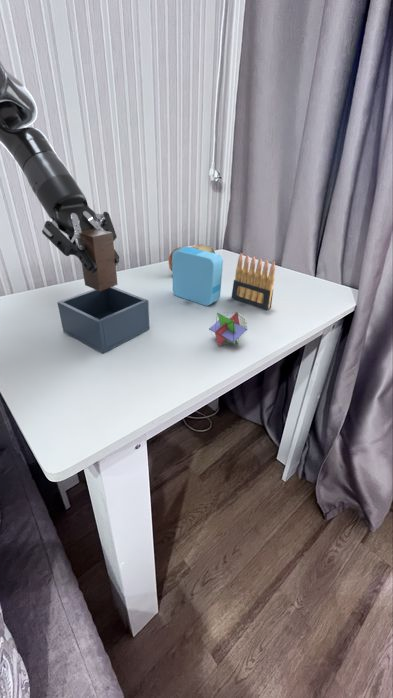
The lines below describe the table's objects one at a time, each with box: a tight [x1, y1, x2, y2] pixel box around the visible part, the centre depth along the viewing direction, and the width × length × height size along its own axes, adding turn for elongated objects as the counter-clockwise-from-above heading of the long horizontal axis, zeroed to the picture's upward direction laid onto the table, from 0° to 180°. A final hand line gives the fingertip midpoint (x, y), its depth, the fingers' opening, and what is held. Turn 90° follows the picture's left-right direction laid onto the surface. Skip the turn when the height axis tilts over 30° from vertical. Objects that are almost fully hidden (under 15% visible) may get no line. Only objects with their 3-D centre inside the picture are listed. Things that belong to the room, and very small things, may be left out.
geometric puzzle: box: [208, 310, 249, 348], centre depth 66 cm, size 7×7×8 cm
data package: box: [172, 246, 224, 307], centre depth 83 cm, size 12×4×12 cm, turn 55°
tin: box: [168, 244, 216, 273], centre depth 99 cm, size 15×3×8 cm, turn 119°
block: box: [79, 229, 119, 291], centre depth 62 cm, size 4×4×10 cm
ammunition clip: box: [230, 252, 276, 311], centre depth 81 cm, size 11×2×12 cm, turn 52°
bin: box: [56, 286, 150, 354], centre depth 68 cm, size 13×13×7 cm
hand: (105, 266), depth 61 cm, fingers closed on block, 4 cm apart
